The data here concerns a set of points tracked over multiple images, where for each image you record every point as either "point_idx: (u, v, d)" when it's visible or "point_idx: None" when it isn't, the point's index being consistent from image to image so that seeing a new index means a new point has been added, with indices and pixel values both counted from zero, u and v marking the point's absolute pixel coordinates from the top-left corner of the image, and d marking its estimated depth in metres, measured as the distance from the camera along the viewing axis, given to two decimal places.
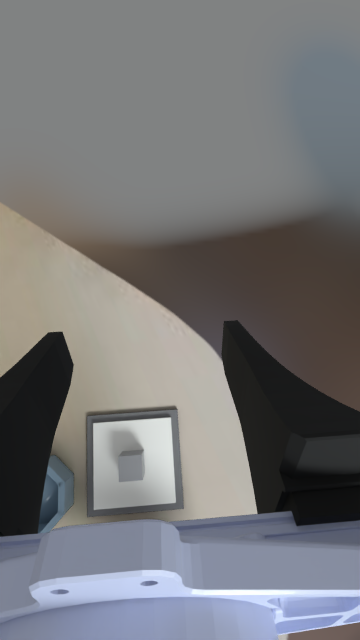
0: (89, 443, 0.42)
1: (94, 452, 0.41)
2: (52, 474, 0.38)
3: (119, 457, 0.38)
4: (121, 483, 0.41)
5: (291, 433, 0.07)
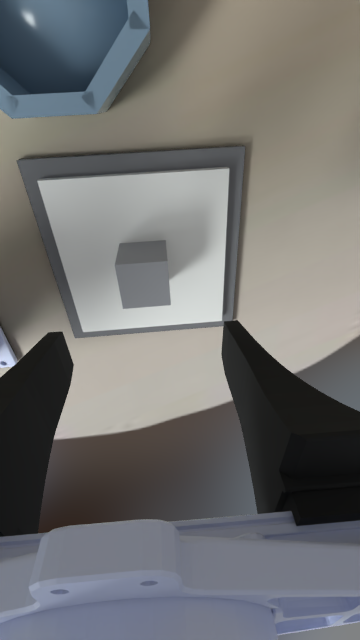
0: (181, 156, 0.17)
1: (163, 175, 0.17)
2: (112, 66, 0.12)
3: (165, 263, 0.17)
4: (102, 241, 0.19)
5: (291, 433, 0.07)
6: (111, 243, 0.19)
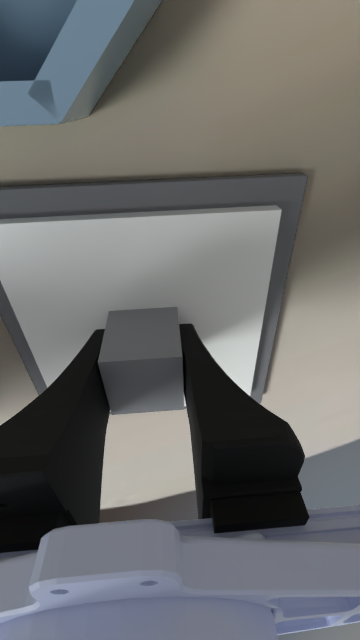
0: (206, 189, 0.11)
1: (177, 219, 0.11)
2: (88, 29, 0.06)
3: (179, 360, 0.11)
4: (83, 307, 0.13)
5: (202, 440, 0.07)
6: (96, 311, 0.13)
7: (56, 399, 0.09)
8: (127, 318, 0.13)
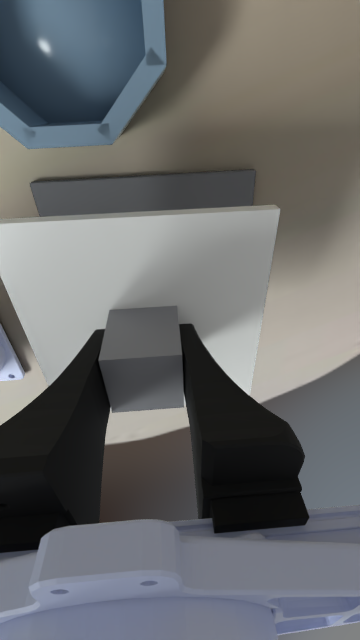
0: (192, 180, 0.17)
1: (177, 219, 0.11)
2: (129, 100, 0.13)
3: (179, 358, 0.11)
4: (84, 306, 0.13)
5: (202, 440, 0.07)
6: (96, 310, 0.13)
7: (56, 399, 0.09)
8: (127, 317, 0.13)
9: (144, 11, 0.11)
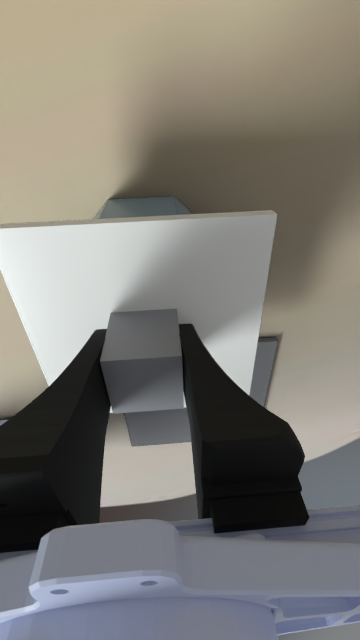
0: None
1: (177, 223, 0.11)
2: None
3: (179, 359, 0.11)
4: (85, 309, 0.13)
5: (202, 440, 0.07)
6: (98, 313, 0.13)
7: (56, 399, 0.09)
8: (128, 319, 0.13)
9: None
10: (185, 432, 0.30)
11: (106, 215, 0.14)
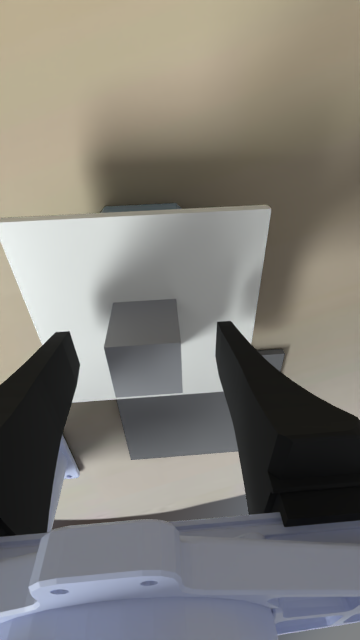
0: None
1: (176, 217, 0.12)
2: None
3: (178, 345, 0.12)
4: (89, 299, 0.14)
5: (278, 434, 0.07)
6: (101, 303, 0.14)
7: None
8: (130, 309, 0.14)
9: None
10: (187, 445, 0.29)
11: None
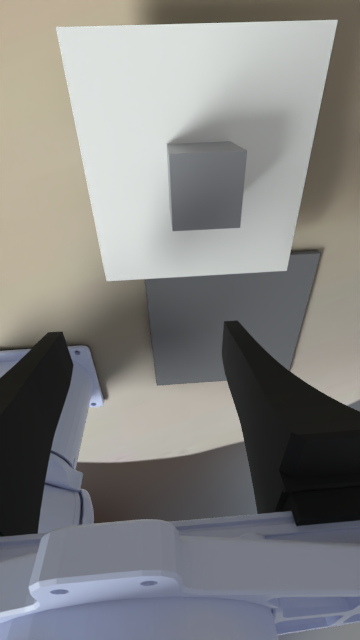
0: None
1: (240, 27, 0.12)
2: None
3: (243, 155, 0.12)
4: (143, 139, 0.14)
5: (291, 433, 0.07)
6: (154, 143, 0.14)
7: None
8: (186, 144, 0.13)
9: None
10: (214, 368, 0.28)
11: None
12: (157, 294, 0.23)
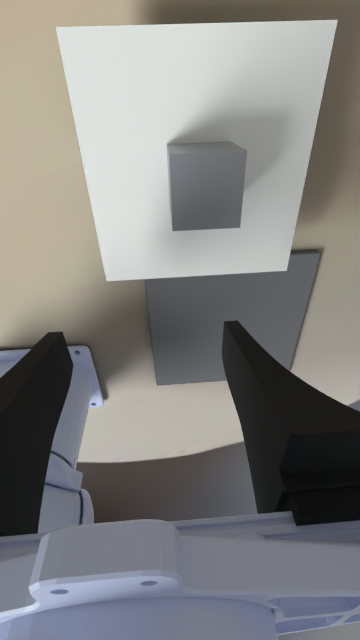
0: None
1: (240, 28, 0.12)
2: None
3: (243, 155, 0.12)
4: (143, 139, 0.14)
5: (291, 433, 0.07)
6: (154, 143, 0.14)
7: None
8: (186, 144, 0.13)
9: None
10: (214, 368, 0.28)
11: None
12: (157, 294, 0.23)
